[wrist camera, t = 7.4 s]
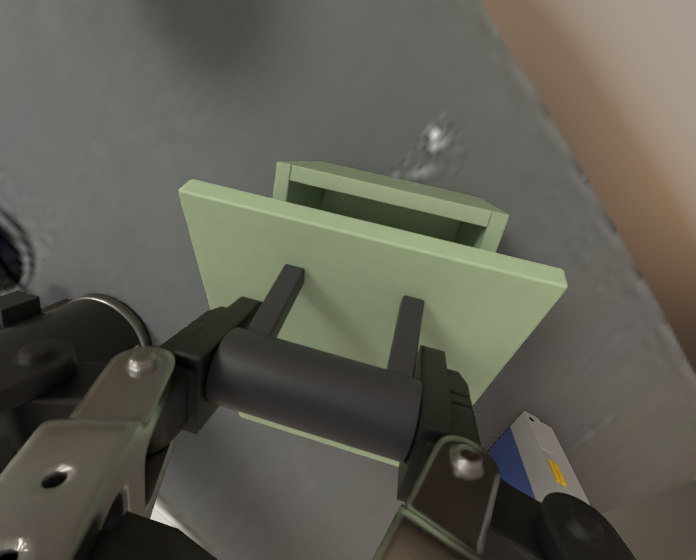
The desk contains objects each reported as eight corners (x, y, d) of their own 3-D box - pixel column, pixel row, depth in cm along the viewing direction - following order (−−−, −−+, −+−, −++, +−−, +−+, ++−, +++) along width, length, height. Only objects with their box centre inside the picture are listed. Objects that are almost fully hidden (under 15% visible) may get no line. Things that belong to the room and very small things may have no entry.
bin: (321, 161, 26) (276, 160, 18) (479, 197, 25) (509, 214, 16) (290, 342, 31) (245, 406, 23) (418, 379, 30) (418, 460, 22)
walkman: (498, 483, 32) (542, 657, 21) (471, 469, 32) (500, 634, 21) (554, 425, 29) (640, 590, 18) (524, 409, 29) (591, 563, 18)
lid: (190, 177, 11) (39, 304, 7) (564, 268, 10) (621, 478, 6) (244, 405, 23) (197, 500, 19) (419, 459, 22) (407, 573, 18)
